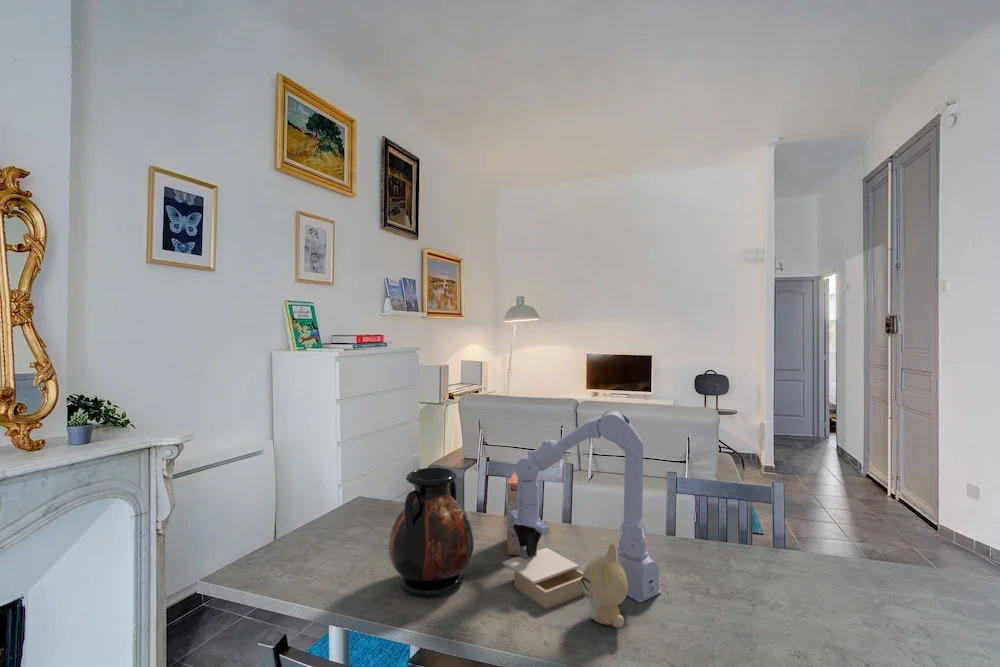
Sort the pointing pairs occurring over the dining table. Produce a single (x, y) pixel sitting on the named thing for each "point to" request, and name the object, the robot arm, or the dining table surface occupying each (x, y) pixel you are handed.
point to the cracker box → (512, 538)
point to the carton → (552, 588)
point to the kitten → (605, 588)
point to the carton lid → (539, 565)
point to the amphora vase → (431, 536)
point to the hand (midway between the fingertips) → (528, 553)
